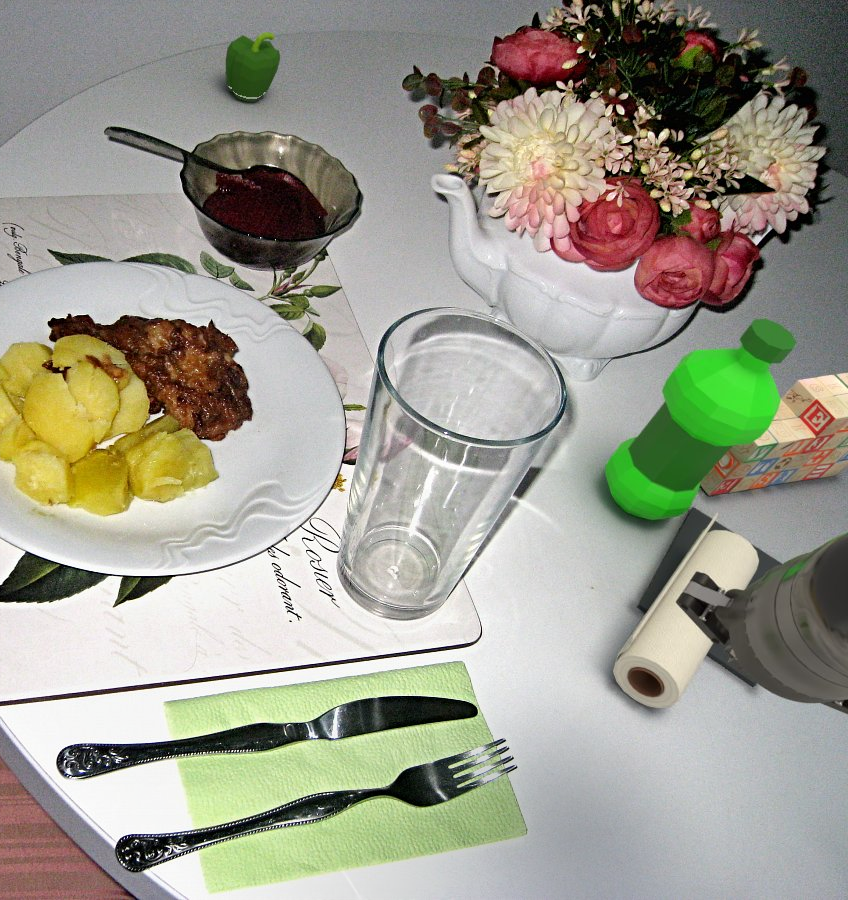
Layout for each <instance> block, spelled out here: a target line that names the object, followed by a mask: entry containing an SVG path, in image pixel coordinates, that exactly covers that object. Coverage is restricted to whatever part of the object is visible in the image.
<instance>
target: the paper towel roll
mask: <svg viewBox="0 0 848 900" xmlns="http://www.w3.org/2000/svg"><path fill="white" fill-rule="evenodd" d="M718 516H719V512H716V513H715V515H714V517H713V518H712V521H711V522H710V524H709V525H708V527H707V528H706V529H704V530H703V531H702V533H701V534H700V536H699V537H698V538H697V540H696V541H695V543H694V544H693V546H692V547H691V549H690V550H689V552H688V553H687V555H686V556H685V557H684V559H683V560H682V562H681V563H680V565H679V566H678V568H677V569H676V571H675V572H674V573H673V575H672V576H671V578H670V579H669V581H668V582H667V584H666V585H665V587H664V588H663V589H662V591H661V592H660V594H659V595H658V597H657V598H656V600H655V601H654V603H653V604H652V606H651V607H650V608H649V610H648V611H647V613H645V614H644V615H643V617H642V618H641V620H640V621H639V623H638V625H637V626H636V627H635V629H634V630H633V631H632V633H631V635H630V636H629V637H628V639H627V640H626V642H625V643H624V645H623V646H622V648H621V649H620V650H619V652H618V653H617V657H616V659H615V662H614V667H613V670H612V671H613V675H614V678H615V681H616V683H617V684H618V685H619V687H620V688H621V689H622V691H623V692H624V693H625V694H627V695H628V696H629V697H630V698H631V699H633V701H636V702H638V703H640V704H642V705H644V706H647V707H650V708H656V709H667V708H671V707H673V706H674V705H675V704H677V703H678V702H679V701H680V700H681V698H682V697H683V695H684V693H685V691H686V690H687V688H688V686H689V685H690V683H691V681H692V680H693V678H694V676H695V675H696V673H697V671H698V669H699V668H700V666H701V664H702V663H703V661H704V660H705V658H706V656H707V655H706V654H707V653H708V651H709V649H710V648H711V646H712V644H713V642H711V640H710V639H709V638H708V637H707V636H706V635H705V634H704V633H703V632H702V631H701V629H700V628H699V627H698V626H697V625H696V624H695V623H694V622H693V621H692V620H691V619H690V618H689V617H688V615H687V614H686V613H685V612H684V611H683V610H682V609H681V608H680V607H679V606H678V605H677V604H676V600H677V599H678V597H679V596H680V594H681V593H682V592H683V590H684V589H685V587H686V586H687V584H688V583H689V581H690V580H691V578H692V577H693V575H694V574H695V572H696V571H698V572H701V573H705V574H707V575H708V576H709V577H710V578H711V579H712V580H713V581H714V582H715V583H716V584H717V585H718V587H721V588H723V589H725V591H726V592H727V591H728V590H730V589H740V590H745V589H746V587H747V585H748V584H749V582H750V580H751V579H752V577H753V575H754V574H755V572H756V570H757V567H758V563H759V559H758V555H757V551H756V550H755V549H754V547H753V546H752V545H753V544H752V543H751V542H750V541H748V540H747V539H746V538H745V537H743V536H741V535H740V534H739V533H736V532H733V531H732V532H733V533H732V532H729V531H724V530H714V531H711V532H708V530H709V529H710V527H711V526H712V524H713V523H714V521H716V520H717V518H718ZM751 544H752V545H751ZM726 592H725V593H726Z"/></svg>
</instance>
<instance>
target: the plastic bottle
mask: <svg viewBox="0 0 848 900" xmlns="http://www.w3.org/2000/svg"><path fill="white" fill-rule="evenodd" d="M739 341H740V346H739V347H738V348H735V347H734V348H733V347H732V348H713V349H711V348H710V349H695V350H692V351H690V352H689V353H687V354H686V355H683V356H682V358H681V359H680V361H679V362H678V363H677V364H676V366H675V367H674V369H673V370H672V372H671V373H670V374H669V376H668V377H667V379H665V382H664V385H663V387H662V390H661V392H662V395H663V398H664V402H663V403H662V405H660V406H659V408H658V410H657V411H656V412H655V414H654V415H653V416H652V417H651V418H650V420H649V421H648V423H646V425H645V426H644V427H643V429H642V430H641V431H640V432H639V434H638V435H637V436H634V437H632V438H629V439H626V440H624V441H623V442H621V443H620V444H619V445H618V446H617V448H616V449H615V451H613V454H612V455H611V456H610V457H609V459H608V461H607V462H606V463H605V469H604V474H605V478H606V482H607V485H608V488H609V491H610V495H611V496H612V497H613V500H614V502H615V503H616V504H617V505H618V506H619V507H620V508H621V509H622V510H623V511H624V512H625V513H627V514H630V515H632V516H635V517H637V518H641V519H647V520H650V521H654V520H662V519H672V518H676V517H679V516H681V515H684V514H685V513H686V512H687V511H688V510H689V508H691V506H692V504H693V502H694V500H695V499H696V497H697V495H698V493H699V490H700V487H701V485H700V483H701V480H702V479H703V478H704V477H705V476H706V475H707V474H708V473H709V472H710V470H711V469H712V468H713V467H714V466H715V465H716V464H717V463H718V462H719V461H720V460H721V458H722V457H723V456H724V455H725V454H726V453H727V452H728V451H729V450H730V449H731V448H732V446H733V445H743V444H750V443H752V442H753V441H755V440H756V439H758V438H760V437H761V436H762V435H763V434H764V433H765V432H766V431H767V429H768V428H769V427H770V425H771V423H772V421H773V419H774V417H775V415H776V413H777V411H778V408H779V405H780V402H781V399H780V398H781V396H780V394H779V391H778V388H777V384H776V382H775V380H774V378H773V375H772V373H771V371H770V369H769V368H770V366H771V365H772V364H781V363H782V362H783V361H784V360H785V359H786V358H787V357H788V355H789V354H790V353H791V352H792V351H793V350H794V349H795V346H796V344H797V343H798V342H797V341H796V339H795V337H794V335H793V334H792V332H791V331H789V330H788V329H787V328H786V327H785V326H783V325H781V324H780V323H778V322H776V321H774V320H770V319H768V318H755V319H754V320H753V321H752V322H751V323H750V324H749V326H748V327H747V328H746V329H745V331H744V332H743V333H742V335H740V338H739Z"/></svg>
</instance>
